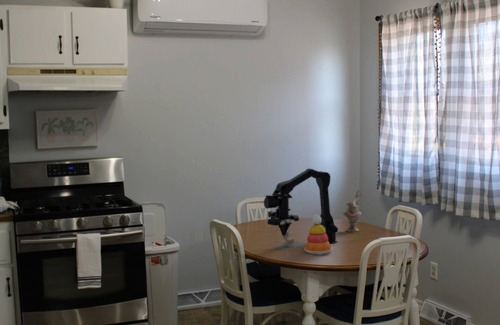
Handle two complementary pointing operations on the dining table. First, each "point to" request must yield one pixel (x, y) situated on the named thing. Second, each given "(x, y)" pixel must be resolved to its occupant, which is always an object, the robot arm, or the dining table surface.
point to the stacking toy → (317, 238)
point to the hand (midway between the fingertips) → (283, 235)
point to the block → (288, 239)
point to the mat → (296, 244)
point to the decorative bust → (352, 213)
